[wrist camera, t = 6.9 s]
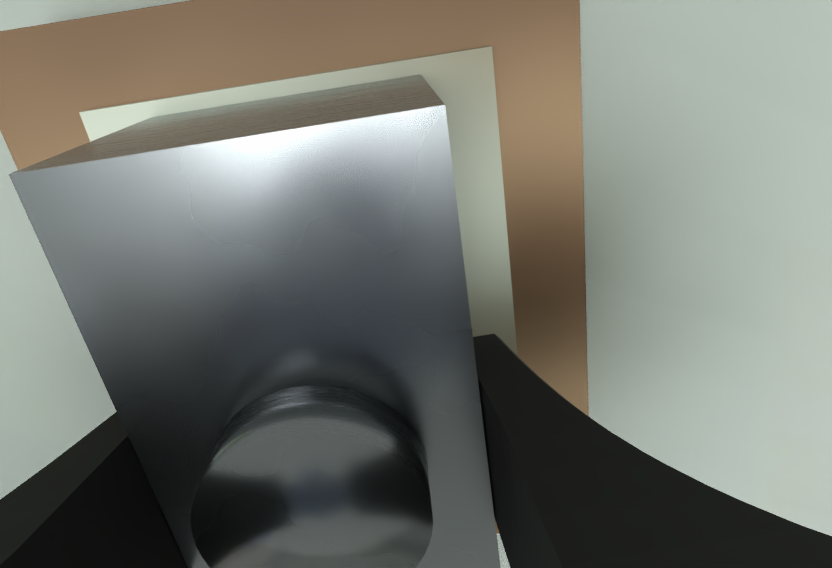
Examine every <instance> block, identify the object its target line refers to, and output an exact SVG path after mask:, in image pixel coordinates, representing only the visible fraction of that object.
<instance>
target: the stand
mask: <svg viewBox="0 0 832 568" xmlns="http://www.w3.org/2000/svg"><path fill="white" fill-rule="evenodd" d="M418 74H421V75H422V76H423V78H424V79H425V80H426V81H427V83H428V84H429V85H430V86H431V88H432V89H433V90H434V91H435V93H436V94H437V95H438V96H439V98H440V99H441V100H442V102H443V103H444V104H445V108H446V117H447V125H448V133H449V142H450V150H451V159H452V167H453V175H454V184H455V192H456V200H457V209H458V217H459V225H460V234H461V242H462V251H463V259H464V267H465V276H466V284H467V292H468V301H469V309H470V318H471V326H472V334H473V337H475V336H482V335H488V334H495V335H497V336H498V337H499V338H501V340H502V341H503V342H504V343H505V344H506V345H507V346H508V347H509V348H510V349H511V350H512V351H513V352H514V353H515V354H516V355H517V356H518V357H519V358H520V359H521V360H522V361H523V362H524V363H525V364H526V365H527V366H528V367H529V368H530V369H531V370H532V371H534V372H535V373H536V374H537V375H538V376H539V377H540V378H541V379H543V380H544V381H545V382H546V383H547V384H548V385H550V386H551V387H552V388H553V389H554V390H555V391H557V392H558V393H559V394H560V395H561V396H563V397H564V398H565V399H566V400H568V401H569V402H570V403H571V404H573V405H574V406H575V407H576V408H578V409H579V410H581V411H582V412H583V413H585V414H586V415H587V416H588V378H587V332H586V285H585V238H584V191H583V144H582V97H581V50H580V3H579V0H191V1H185V2H179V3H172V4H166V5H160V6H154V7H148V8H142V9H135V10H129V11H123V12H117V13H111V14H105V15H98V16H92V17H86V18H80V19H74V20H68V21H61V22H55V23H49V24H43V25H37V26H31V27H24V28H18V29H12V30H6V31H0V131H1V133H2V135H3V137H4V140H5V142H6V144H7V146H8V148H9V151H10V153H11V155H12V157H13V160H14V162H15V164H16V166H17V169H18V170H21V169H23V168H26V167H28V166H31V165H33V164H36V163H38V162H41V161H43V160H46V159H48V158H51V157H53V156H56V155H58V154H61V153H63V152H66V151H68V150H71V149H73V148H76V147H78V146H81V145H83V144H86V143H88V142H91V141H93V140H96V139H98V138H101V137H103V136H106V135H108V134H111V133H113V132H116V131H118V130H121V129H123V128H126V127H128V126H131V125H133V124H136V123H138V122H141V121H143V120H146V119H148V118H151V117H156V116H162V115H168V114H174V113H181V112H187V111H193V110H199V109H206V108H212V107H218V106H224V105H231V104H237V103H243V102H249V101H256V100H262V99H268V98H274V97H281V96H287V95H293V94H299V93H306V92H312V91H318V90H324V89H331V88H337V87H343V86H349V85H356V84H362V83H368V82H374V81H381V80H387V79H393V78H399V77H406V76H412V75H418ZM494 518H495V517H494ZM495 527H496V533H499V530H498V527H497V524H496V521H495Z"/></svg>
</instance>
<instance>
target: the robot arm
mask: <svg viewBox="0 0 832 568" xmlns="http://www.w3.org/2000/svg"><path fill="white" fill-rule="evenodd" d="M473 343H474V351H475V359H476V368H477V376H478V385H479V393H480V401H481V410H482V418H483V426H484V435H485V443H486V452H487V460H488V468H489V477H490V485H491V493H492V502H493V510H494V517H495V521H496V524H497V527H498V530H499V533H500V536H501V539H502V542H503V546H504V549H505V552H506V555H507V558H508V561H509V564H510V567H511V568H832V536H829V535H826V534H823V533H821V532H818V531H815V530H812V529H809V528H806V527H804V526H801V525H799V524H796V523H793V522H791V521H788V520H786V519H784V518H781V517H779V516H776V515H774V514H772V513H769V512H767V511H764V510H762V509H759V508H757V507H755V506H752V505H750V504H747V503H745V502H743V501H740V500H738V499H736V498H734V497H731V496H729V495H727V494H725V493H723V492H720V491H718V490H716V489H714V488H712V487H710V486H707V485H705V484H703V483H701V482H699V481H697V480H695V479H694V478H692V477H690V476H688V475H686V474H684V473H682V472H680V471H678V470H676V469H674V468H672V467H670V466H668V465H666V464H664V463H662V462H660V461H659V460H657V459H655V458H653V457H651V456H649V455H648V454H646V453H644V452H642V451H641V450H639V449H638V448H636V447H634V446H633V445H631V444H629V443H628V442H626V441H624V440H623V439H621V438H620V437H618V436H616V435H615V434H613V433H611V432H610V431H608V430H607V429H605V428H604V427H603V426H601V425H600V424H598V423H597V422H595V421H594V420H593V419H591V418H590V417H589V416H587V415H586V414H585V413H583V412H582V411H581V410H579V409H578V408H576V407H575V406H574V405H573V404H571V403H570V402H569V401H568V400H566V399H565V398H564V397H563V396H561V395H560V394H559V393H558V392H557V391H555V390H554V389H553V388H552V387H551V386H550V385H548V384H547V383H546V382H545V381H544V380H543V379H541V378H540V377H539V376H538V375H537V374H536V373H535V372H534V371H532V370H531V369H530V368H529V367H528V366H527V365H526V364H525V363H524V362H523V361H522V360H521V359H520V358H519V357H518V356H517V355H516V354H515V353H514V352H513V351H512V350H511V349H510V348H509V347H508V346H507V345H506V344H505V343H504V342H503V341H502V340H501V338H499V337H498V336H497V335H495V334H488V335H482V336H475V337H473ZM0 568H188V567H187V564H186V562H185V560H184V558H183V556H182V553H181V551H180V549H179V547H178V545H177V542H176V540H175V538H174V536H173V534H172V532H171V529H170V527H169V525H168V523H167V521H166V518H165V516H164V514H163V512H162V510H161V507H160V505H159V503H158V501H157V499H156V496H155V494H154V492H153V490H152V488H151V485H150V483H149V481H148V479H147V477H146V474H145V472H144V470H143V468H142V466H141V463H140V461H139V459H138V457H137V455H136V452H135V450H134V448H133V446H132V444H131V441H130V439H129V437H128V435H127V433H126V431H125V428H124V426H123V424H122V422H121V420H120V417H119V415H118V413H117V412H116V413H115V414H113V415H112V416H111V417H109V418H108V419H107V420H106V421H104V422H103V423H102V424H100V425H99V426H98V427H97V428H95V429H94V430H93V431H91V432H90V433H89V434H88V435H86V436H85V437H84V438H82V439H81V440H80V441H78V442H77V443H76V444H75V445H73V446H72V447H71V448H69V449H68V450H67V451H66V452H64V453H63V454H62V455H60V456H59V457H58V458H57V459H55V460H54V461H53V462H51V463H50V464H49V465H47V466H46V467H44V468H43V469H42V470H40V471H39V472H38V473H36V474H35V475H34V476H32V477H31V478H29V479H28V480H27V481H25V482H24V483H23V484H21V485H20V486H18V487H17V488H16V489H14V490H13V491H12V492H10V493H9V494H7V495H6V496H5V497H3V498H2V499H1V500H0Z"/></svg>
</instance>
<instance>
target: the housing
mask: <svg viewBox="0 0 832 568" xmlns="http://www.w3.org/2000/svg"><path fill="white" fill-rule="evenodd" d="M9 176H10V178H11V180H12V182H13V185H14V187H15V189H16V191H17V193H18V196H19V198H20V200H21V202H22V204H23V207H24V209H25V211H26V213H27V215H28V218H29V220H30V222H31V224H32V226H33V229H34V231H35V233H36V235H37V237H38V240H39V242H40V244H41V246H42V248H43V251H44V253H45V255H46V257H47V259H48V261H49V264H50V266H51V268H52V270H53V272H54V275H55V277H56V279H57V281H58V283H59V286H60V288H61V290H62V292H63V294H64V297H65V299H66V301H67V303H68V305H69V308H70V310H71V312H72V314H73V316H74V319H75V321H76V323H77V325H78V327H79V330H80V332H81V334H82V336H83V338H84V341H85V343H86V345H87V347H88V349H89V351H90V354H91V356H92V358H93V360H94V362H95V365H96V367H97V369H98V371H99V373H100V376H101V378H102V380H103V382H104V384H105V387H106V389H107V391H108V393H109V395H110V398H111V400H112V402H113V404H114V406H115V409H116V411H117V413H118V415H119V417H120V420H121V422H122V424H123V426H124V428H125V431H126V433H127V435H128V437H129V439H130V441H131V444H132V446H133V448H134V450H135V452H136V455H137V457H138V459H139V461H140V463H141V466H142V468H143V470H144V472H145V474H146V477H147V479H148V481H149V483H150V485H151V488H152V490H153V492H154V494H155V496H156V499H157V501H158V503H159V505H160V507H161V510H162V512H163V514H164V516H165V518H166V521H167V523H168V525H169V527H170V529H171V532H172V534H173V536H174V538H175V540H176V542H177V545H178V547H179V549H180V551H181V553H182V556H183V558H184V560H185V562H186V564H187V567H188V568H500V560H499V552H498V544H497V535H496V527H495V518H494V510H493V502H492V493H491V485H490V477H489V468H488V460H487V452H486V443H485V435H484V426H483V418H482V410H481V401H480V393H479V385H478V376H477V368H476V359H475V351H474V343H473V334H472V326H471V318H470V309H469V301H468V292H467V284H466V276H465V267H464V259H463V251H462V242H461V234H460V225H459V217H458V209H457V200H456V192H455V184H454V175H453V167H452V159H451V150H450V142H449V133H448V125H447V117H446V108H445V104H444V103H443V102H442V100H441V99H440V98H439V96H438V95H437V94H436V93H435V91H434V90H433V89H432V88H431V86H430V85H429V84H428V83H427V81H426V80H425V79H424V78H423V76H422V75H421V74H418V75H412V76H406V77H399V78H393V79H387V80H381V81H374V82H368V83H362V84H356V85H349V86H343V87H337V88H331V89H324V90H318V91H312V92H306V93H299V94H293V95H287V96H281V97H274V98H268V99H262V100H256V101H249V102H243V103H237V104H231V105H224V106H218V107H212V108H206V109H199V110H193V111H187V112H181V113H174V114H168V115H162V116H156V117H151V118H148V119H146V120H143V121H141V122H138V123H136V124H133V125H131V126H128V127H126V128H123V129H121V130H118V131H116V132H113V133H111V134H108V135H106V136H103V137H101V138H98V139H96V140H93V141H91V142H88V143H86V144H83V145H81V146H78V147H76V148H73V149H71V150H68V151H66V152H63V153H61V154H58V155H56V156H53V157H51V158H48V159H46V160H43V161H41V162H38V163H36V164H33V165H31V166H28V167H26V168H23V169H21V170H18V171H16V172H13V173H11V174H9Z"/></svg>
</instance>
